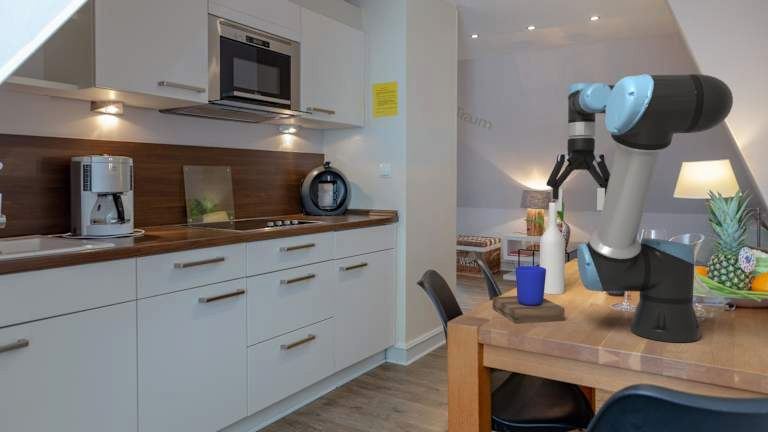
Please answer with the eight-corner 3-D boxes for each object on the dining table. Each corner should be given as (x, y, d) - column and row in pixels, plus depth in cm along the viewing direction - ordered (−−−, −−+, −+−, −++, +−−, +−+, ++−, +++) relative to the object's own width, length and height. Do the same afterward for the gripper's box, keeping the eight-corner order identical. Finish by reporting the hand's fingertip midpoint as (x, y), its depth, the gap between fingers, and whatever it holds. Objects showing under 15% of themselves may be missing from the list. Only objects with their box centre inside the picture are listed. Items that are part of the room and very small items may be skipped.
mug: (540, 297, 158) (540, 263, 157) (548, 307, 146) (549, 271, 145) (511, 297, 159) (511, 263, 158) (517, 307, 147) (517, 270, 146)
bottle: (535, 289, 186) (536, 202, 183) (558, 289, 186) (559, 202, 184) (544, 295, 178) (546, 203, 175) (568, 294, 178) (570, 203, 176)
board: (564, 320, 146) (564, 307, 146) (515, 323, 144) (515, 310, 143) (537, 306, 162) (537, 295, 162) (492, 309, 159) (492, 297, 159)
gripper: (612, 139, 164) (610, 208, 166) (535, 138, 160) (534, 210, 161) (627, 137, 157) (625, 210, 158) (547, 136, 152) (546, 211, 154)
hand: (579, 210), depth 160 cm, fingers open, 13 cm apart
